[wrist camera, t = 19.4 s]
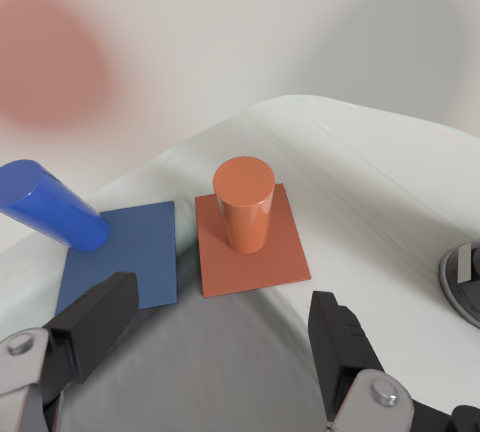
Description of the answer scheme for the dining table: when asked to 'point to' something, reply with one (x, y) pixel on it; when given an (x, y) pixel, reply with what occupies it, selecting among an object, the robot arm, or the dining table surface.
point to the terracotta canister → (245, 202)
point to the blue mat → (128, 256)
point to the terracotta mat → (255, 264)
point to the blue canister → (50, 206)
